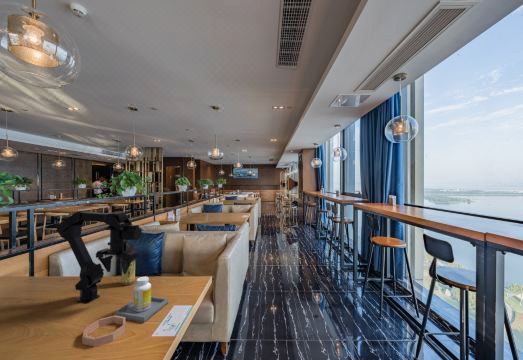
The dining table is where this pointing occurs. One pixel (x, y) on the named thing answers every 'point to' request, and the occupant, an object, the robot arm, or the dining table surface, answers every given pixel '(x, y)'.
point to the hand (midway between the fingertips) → (116, 272)
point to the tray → (143, 316)
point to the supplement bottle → (142, 294)
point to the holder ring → (106, 338)
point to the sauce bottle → (129, 274)
